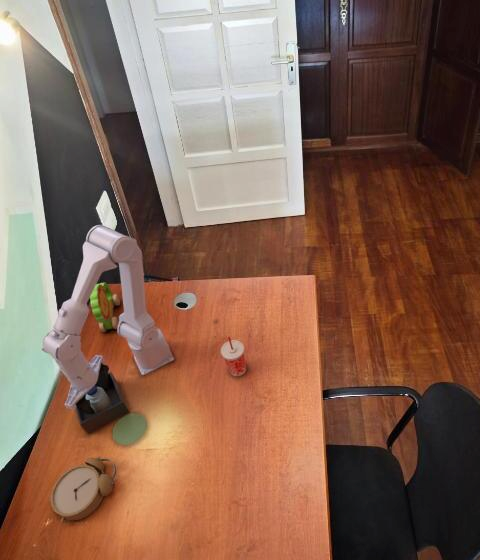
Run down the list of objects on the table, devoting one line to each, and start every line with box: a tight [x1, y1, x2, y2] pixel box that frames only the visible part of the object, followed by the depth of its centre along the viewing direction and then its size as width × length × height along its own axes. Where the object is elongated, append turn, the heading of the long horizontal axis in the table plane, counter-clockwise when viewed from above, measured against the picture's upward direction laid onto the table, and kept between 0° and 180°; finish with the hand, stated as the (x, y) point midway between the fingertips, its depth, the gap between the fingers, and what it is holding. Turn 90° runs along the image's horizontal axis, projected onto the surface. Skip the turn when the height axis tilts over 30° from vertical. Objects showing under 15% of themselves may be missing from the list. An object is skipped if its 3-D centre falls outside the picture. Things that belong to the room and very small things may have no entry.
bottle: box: [86, 385, 112, 414], centre depth 123 cm, size 5×5×9 cm
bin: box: [74, 371, 130, 435], centre depth 124 cm, size 11×11×5 cm
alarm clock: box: [48, 456, 118, 524], centre depth 110 cm, size 11×5×15 cm
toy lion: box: [89, 282, 121, 333], centre depth 143 cm, size 16×5×15 cm, turn 12°
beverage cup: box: [220, 336, 247, 377], centre depth 126 cm, size 6×6×14 cm
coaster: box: [112, 412, 148, 446], centre depth 121 cm, size 9×9×1 cm
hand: (97, 399), depth 123 cm, fingers open, 7 cm apart
